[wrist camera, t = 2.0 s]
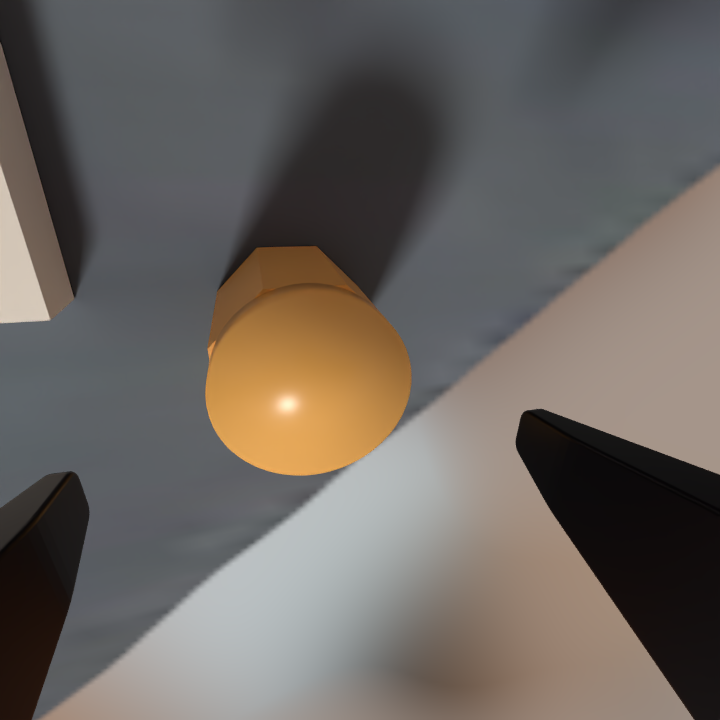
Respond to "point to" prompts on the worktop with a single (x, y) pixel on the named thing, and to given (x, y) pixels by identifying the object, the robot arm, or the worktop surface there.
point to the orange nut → (302, 365)
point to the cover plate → (25, 225)
